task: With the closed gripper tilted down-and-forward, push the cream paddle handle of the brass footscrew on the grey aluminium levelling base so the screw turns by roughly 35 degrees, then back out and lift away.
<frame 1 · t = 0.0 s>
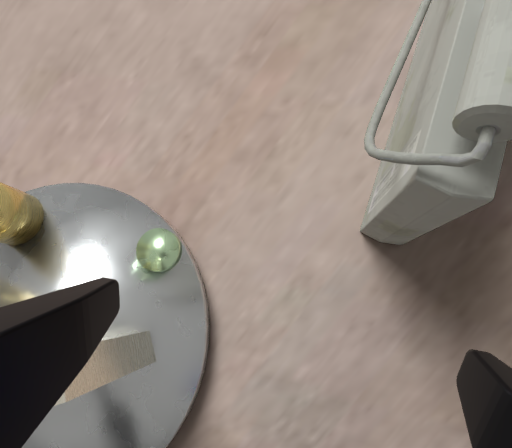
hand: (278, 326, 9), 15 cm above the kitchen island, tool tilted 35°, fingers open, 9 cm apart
levelling base: (61, 331, 24), on the kitchen island
geiger counter: (415, 91, 26), on the kitchen island
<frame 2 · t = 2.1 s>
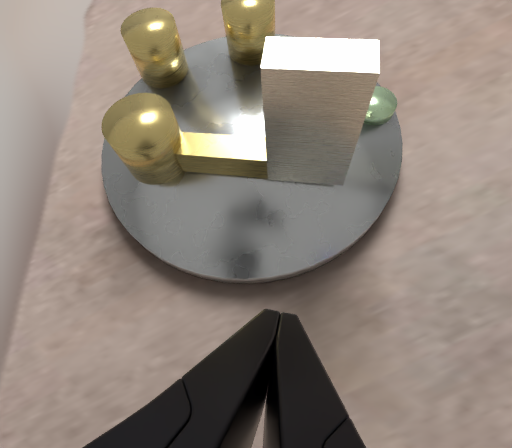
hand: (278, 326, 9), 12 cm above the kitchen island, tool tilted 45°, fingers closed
levelling base: (249, 143, 26), on the kitchen island
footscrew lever: (222, 119, 19), point 6 cm above the kitchen island, hinge at 0.0°
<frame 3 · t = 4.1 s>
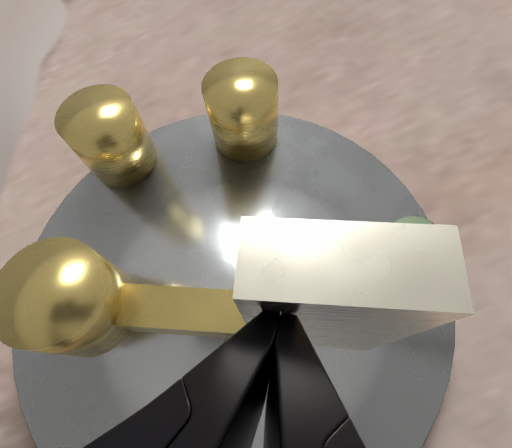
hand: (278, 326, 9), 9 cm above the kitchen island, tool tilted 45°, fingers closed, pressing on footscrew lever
levelling base: (231, 280, 18), on the kitchen island
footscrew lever: (178, 294, 12), point 6 cm above the kitchen island, hinge at 7.2°, touching gripper
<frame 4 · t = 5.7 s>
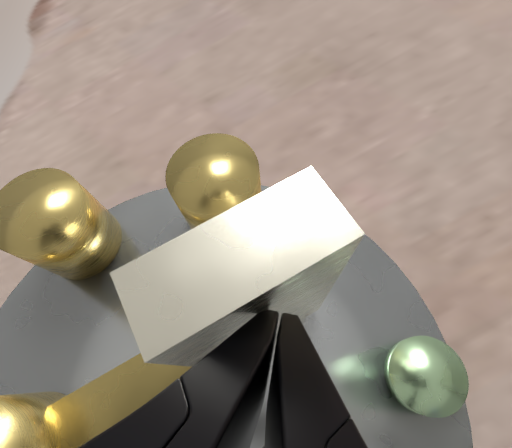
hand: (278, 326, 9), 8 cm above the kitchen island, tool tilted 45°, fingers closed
levelling base: (204, 401, 15), on the kitchen island
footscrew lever: (108, 381, 10), point 6 cm above the kitchen island, hinge at 41.2°, touching gripper
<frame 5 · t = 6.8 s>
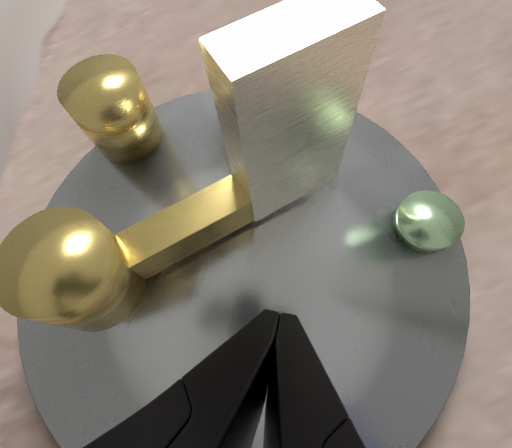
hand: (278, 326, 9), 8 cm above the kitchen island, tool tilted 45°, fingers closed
levelling base: (238, 257, 18), on the kitchen island
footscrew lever: (175, 186, 13), point 6 cm above the kitchen island, hinge at 41.3°
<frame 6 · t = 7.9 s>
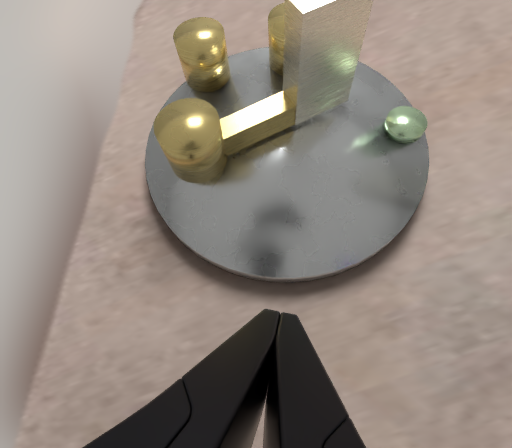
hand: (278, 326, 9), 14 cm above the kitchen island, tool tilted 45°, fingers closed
levelling base: (282, 151, 27), on the kitchen island
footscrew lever: (257, 85, 22), point 6 cm above the kitchen island, hinge at 41.3°
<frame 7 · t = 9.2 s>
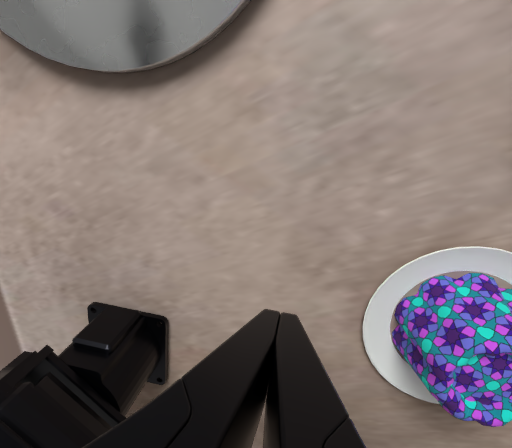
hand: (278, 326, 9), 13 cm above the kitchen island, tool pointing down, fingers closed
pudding: (455, 324, 22), on the kitchen island
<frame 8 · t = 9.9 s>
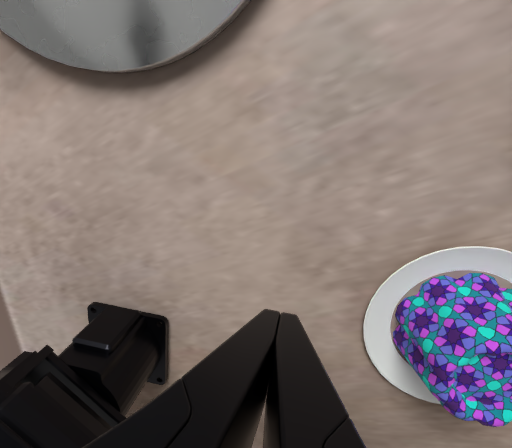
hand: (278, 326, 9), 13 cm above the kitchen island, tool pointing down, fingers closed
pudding: (456, 324, 22), on the kitchen island
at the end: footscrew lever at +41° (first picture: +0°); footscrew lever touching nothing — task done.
